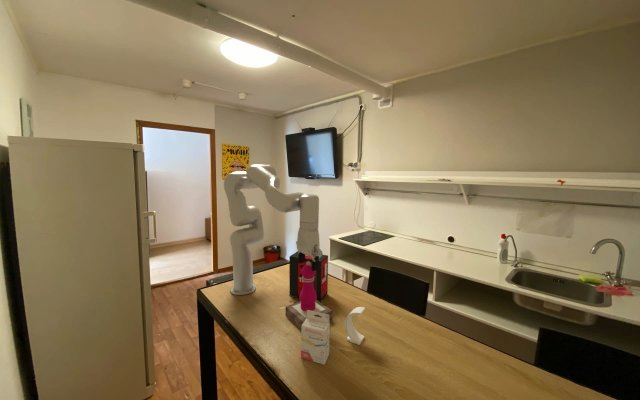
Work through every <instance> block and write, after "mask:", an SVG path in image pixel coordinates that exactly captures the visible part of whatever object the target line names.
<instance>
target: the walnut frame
mask: <svg viewBox="0 0 640 400" xmlns="http://www.w3.org/2000/svg"><path fill="white" fill-rule="evenodd" d="M315 303H316V308H315V309H314V310H313V311H315V312H319V313H324V314H328V315H329V322H331V321H332V320H333V310H332V309H330V308H329V307H328V306H327V305H325V304H323V302H319V301H318V300H316V302H315ZM285 316H286V317H287V318H288V320H290V321H291V322H292V323H293V324H294V325H295V326H296V327H297V328H298V329H300V330H301V327H302V324H303V323H304V321H305V320H306V318H307V311H303V310H302V309H301V301H300V300H299V301H297V302H295V303H292V304H289V305H286V306H285ZM314 316H316V317H320V318H322V316H319V315H314Z"/></svg>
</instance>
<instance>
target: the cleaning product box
mask: <svg viewBox="0 0 640 400" xmlns="http://www.w3.org/2000/svg"><path fill="white" fill-rule="evenodd" d="M288 257H289V260H288V261H289V266H288V267H289V270H288V271H289V279H288V280H289V296H290V297H293V298H298V299H299V298H300V293H301V291H302V289H303V280H302V276H303V275H302V274H301V269H302V267H303V266H304V265H306V262H308V261H309V262H310V263H311V264H310V265H312V261H313V260H312V257H311V256H307V255H305V262H304V263H298V250H297V251H296V252H294V253H292V254H291V255H289V256H288ZM314 257H316V255H314ZM328 276H329V255H328V254H327V255H326V254H322V257H321V259H320V261H319V270H316V273H315V275H314V281H313V287H314V290H315V292H316V295H317V300H318V301H319V302H321V303H323V301H324V299H325V298H326V297H327V295H328V283H329V281H328V280H329V277H328Z"/></svg>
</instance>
